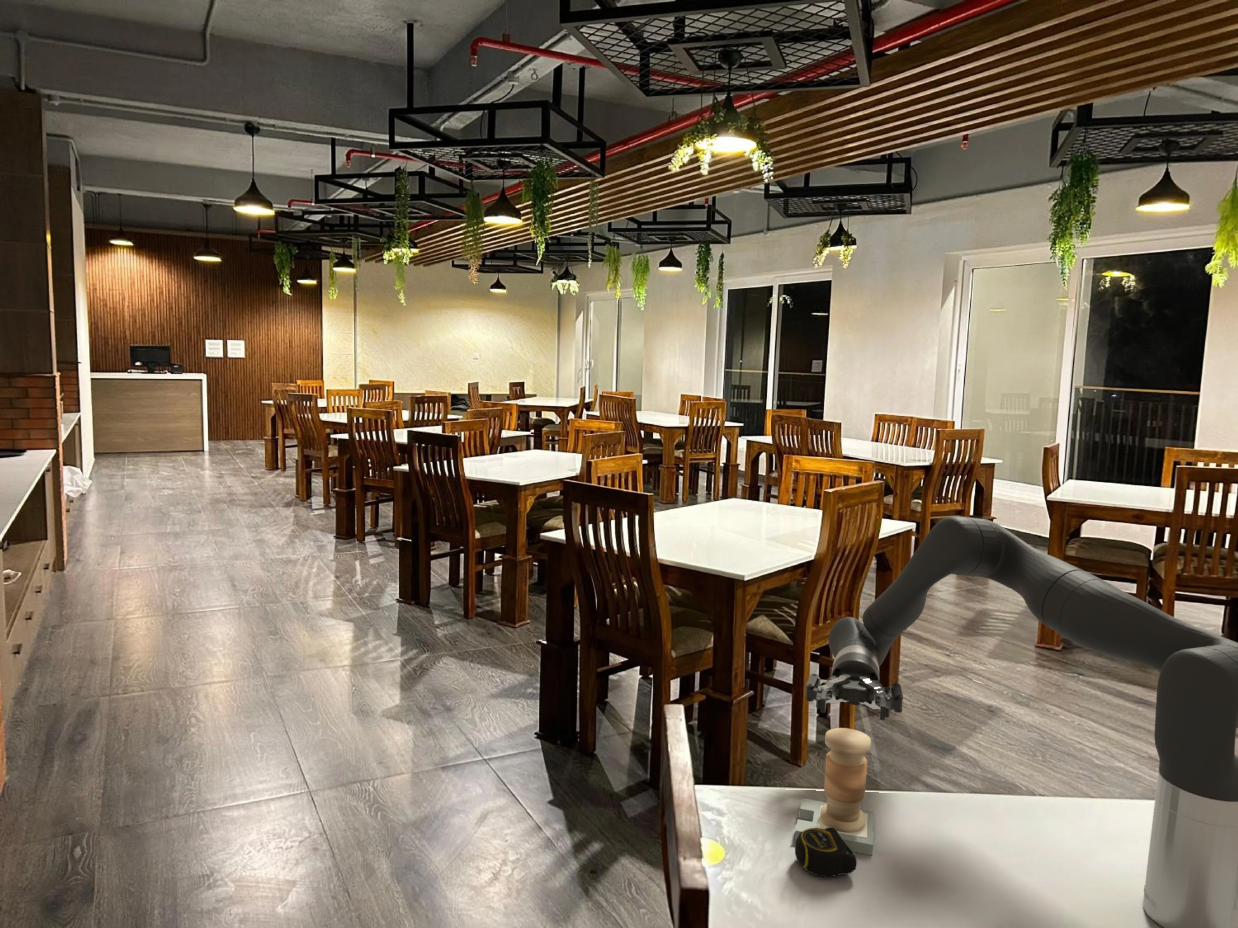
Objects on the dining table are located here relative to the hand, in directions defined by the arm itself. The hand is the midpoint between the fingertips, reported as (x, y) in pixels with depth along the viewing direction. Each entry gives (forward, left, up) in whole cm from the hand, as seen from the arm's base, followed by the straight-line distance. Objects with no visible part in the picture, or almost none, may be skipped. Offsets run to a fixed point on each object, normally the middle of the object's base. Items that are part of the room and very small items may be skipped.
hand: (852, 709), depth 128 cm
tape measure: (+2, +19, -14) cm, 23 cm away
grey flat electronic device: (+1, +10, -13) cm, 17 cm away
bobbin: (0, +10, -12) cm, 16 cm away
